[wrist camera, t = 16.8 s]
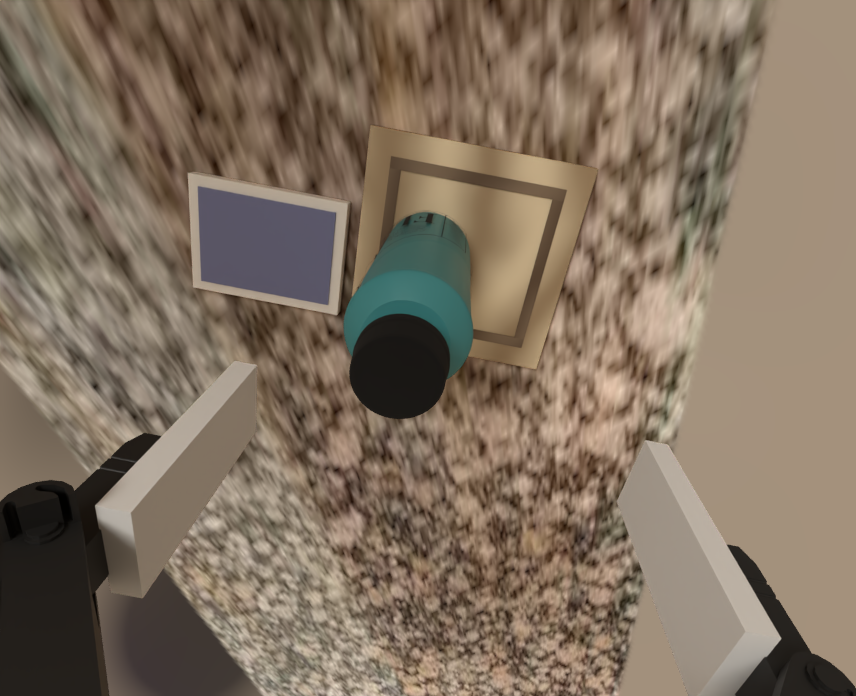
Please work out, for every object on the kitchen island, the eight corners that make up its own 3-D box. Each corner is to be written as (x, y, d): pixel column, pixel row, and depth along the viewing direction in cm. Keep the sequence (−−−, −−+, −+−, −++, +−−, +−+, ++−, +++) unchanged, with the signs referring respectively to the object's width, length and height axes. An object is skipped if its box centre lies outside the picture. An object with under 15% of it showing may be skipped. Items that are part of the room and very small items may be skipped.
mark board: (350, 329, 41) (347, 333, 40) (372, 125, 34) (370, 125, 33) (535, 364, 41) (536, 369, 40) (595, 168, 34) (598, 169, 33)
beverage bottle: (444, 187, 35) (421, 268, 17) (488, 266, 37) (509, 410, 19) (369, 233, 37) (277, 349, 19) (415, 305, 39) (372, 470, 21)
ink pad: (199, 283, 41) (191, 288, 40) (194, 171, 37) (186, 173, 36) (340, 310, 41) (336, 316, 40) (350, 201, 37) (347, 204, 36)
